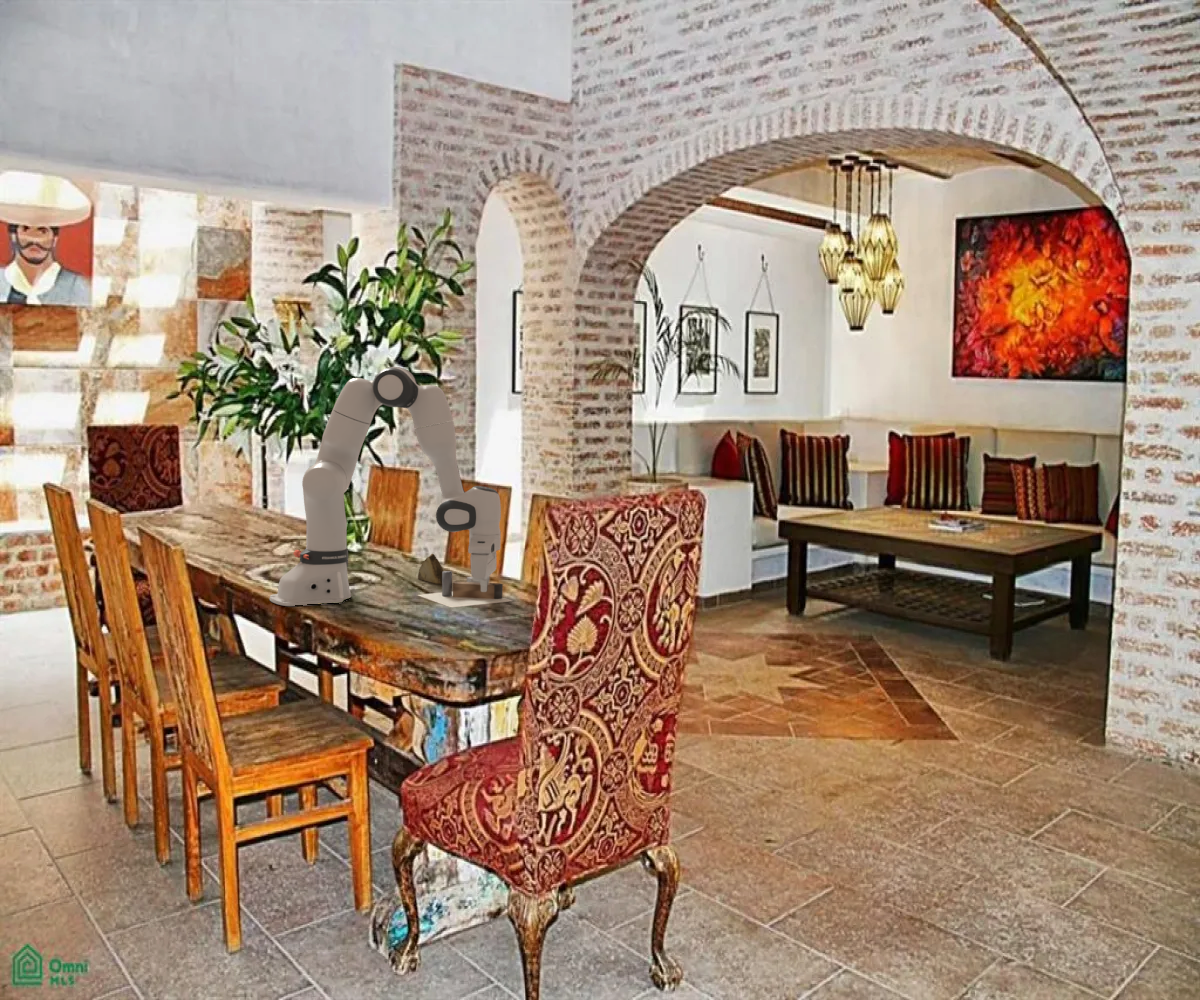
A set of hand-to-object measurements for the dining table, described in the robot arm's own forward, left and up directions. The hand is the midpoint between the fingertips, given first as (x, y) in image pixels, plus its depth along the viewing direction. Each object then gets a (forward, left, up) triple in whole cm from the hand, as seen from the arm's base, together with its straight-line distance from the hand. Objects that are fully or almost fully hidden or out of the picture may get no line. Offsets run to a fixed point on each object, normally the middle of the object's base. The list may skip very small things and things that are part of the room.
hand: (484, 591), depth 320 cm
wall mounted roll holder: (-4, +4, -3) cm, 7 cm away
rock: (+1, +32, -3) cm, 32 cm away
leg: (0, +3, -2) cm, 4 cm away
